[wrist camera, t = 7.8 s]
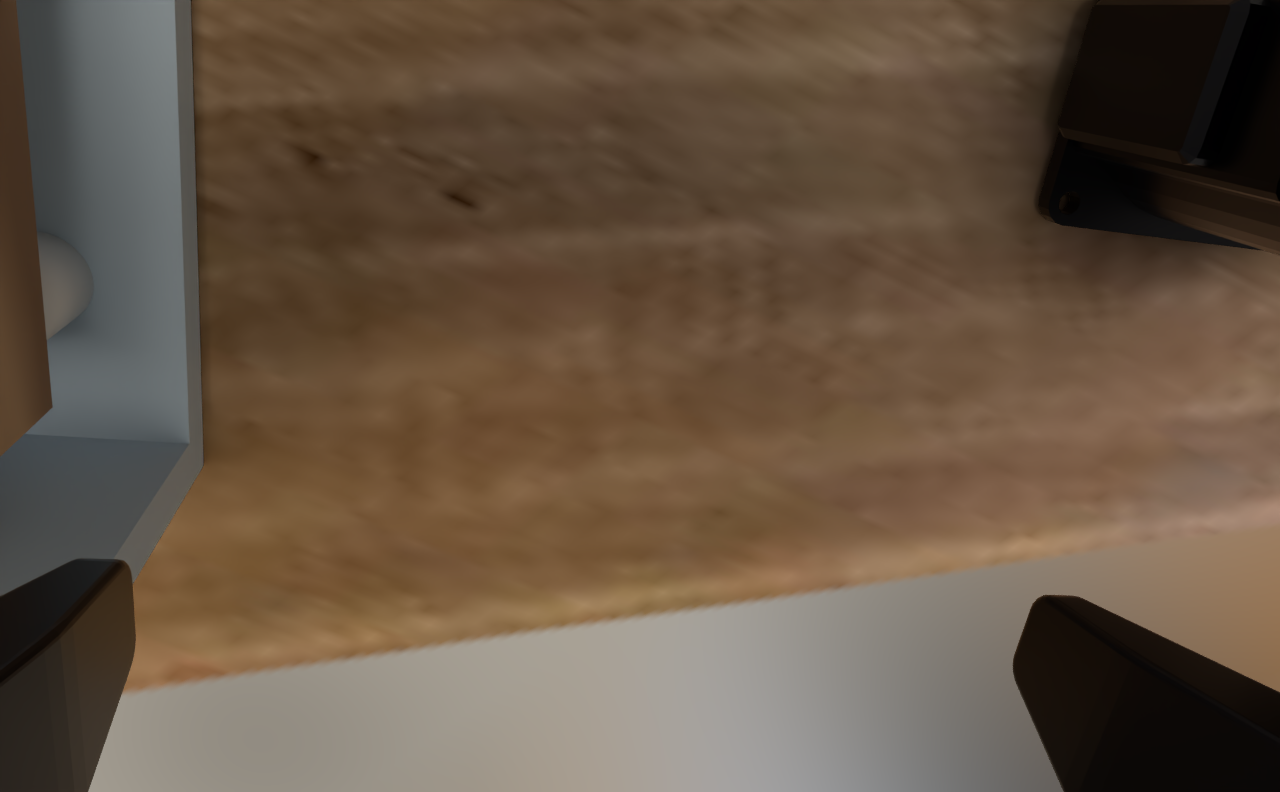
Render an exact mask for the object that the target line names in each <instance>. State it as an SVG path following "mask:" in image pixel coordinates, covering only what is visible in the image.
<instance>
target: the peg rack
mask: <svg viewBox="0 0 1280 792" xmlns="http://www.w3.org/2000/svg"><path fill="white" fill-rule="evenodd" d="M16 5H17V16H18V27H19V39H20V50H21V61H22V72H23V83H24V94H25V105H26V116H27V127H28V139H29V150H30V161H31V172H32V183H33V194H34V205H35V216H36V227H37V238H38V250H39V261H40V272H41V283H42V294H43V305H44V316H45V327H46V338H47V350H48V361H49V372H50V383H51V394H52V405H53V408H51V409H50V410H49V411H48V412H47V413H46V414H45V415H44V416H43V417H42V418H41V419H40V420H39V421H38V422H37V423H36V424H34V425H33V426H32V427H31V428H30V429H29V430H28V431H27V432H26V433H25V434H24V435H23V436H22V437H21V438H20V439H19V440H18V441H16V442H15V443H14V444H13V445H12V446H11V447H10V448H9V449H8V450H7V451H6V452H5V453H4V454H3V455H2V456H1V457H0V596H2V595H4V594H6V593H8V592H10V591H12V590H14V589H15V588H17V587H19V586H21V585H23V584H25V583H27V582H29V581H31V580H33V579H35V578H37V577H39V576H41V575H43V574H45V573H47V572H49V571H51V570H53V569H55V568H57V567H59V566H61V565H63V564H65V563H67V562H69V561H71V560H74V559H77V558H99V559H119V560H124V561H125V562H126V563H127V564H128V565H129V567H130V570H131V573H132V583H134V581H135V580H136V578H137V576H138V575H139V573H140V571H141V570H142V568H143V566H144V565H145V563H146V561H147V560H148V558H149V556H150V555H151V553H152V551H153V549H154V548H155V546H156V544H157V543H158V541H159V539H160V538H161V536H162V534H163V533H164V531H165V529H166V528H167V526H168V524H169V523H170V521H171V519H172V518H173V516H174V514H175V513H176V511H177V509H178V508H179V506H180V504H181V503H182V501H183V499H184V498H185V496H186V494H187V493H188V491H189V489H190V488H191V486H192V484H193V483H194V481H195V479H196V477H197V476H198V474H199V472H200V471H201V469H202V467H203V466H204V460H203V424H202V387H201V351H200V315H199V279H198V242H197V206H196V170H195V134H194V98H193V61H192V25H191V0H16Z"/></svg>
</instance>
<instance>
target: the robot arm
mask: <svg viewBox="0 0 1280 792" xmlns="http://www.w3.org/2000/svg"><path fill="white" fill-rule="evenodd" d="M1058 126H1059V129H1060V130H1059V134H1058V137H1057V140H1056V144H1055V147H1054V150H1053V154H1052V157H1051V160H1050V164H1049V167H1048V170H1047V174H1046V177H1045V181H1044V184H1043V187H1042V191H1041V194H1040V198H1039V209H1040V213H1041V214H1042V216H1043V217H1044V218H1045V219H1047V220H1050V221H1052V222H1055V223H1058V224H1060V225H1064V226H1072V227H1080V228H1088V229H1096V230H1104V231H1112V232H1120V233H1128V234H1136V235H1144V236H1152V237H1160V238H1168V239H1176V240H1184V241H1192V242H1200V243H1208V244H1216V245H1224V246H1232V247H1240V248H1248V249H1256V250H1264V251H1268V252H1271V253H1274V254H1277V255H1280V0H1098V3H1097V4H1096V5H1095V6H1094V7H1093V8H1092V11H1091V14H1090V17H1089V21H1088V24H1087V28H1086V31H1085V34H1084V38H1083V41H1082V44H1081V48H1080V51H1079V54H1078V58H1077V61H1076V65H1075V68H1074V71H1073V75H1072V78H1071V81H1070V85H1069V88H1068V91H1067V95H1066V98H1065V102H1064V105H1063V108H1062V112H1061V115H1060V118H1059V122H1058ZM1067 192H1069V194H1070V201H1069V203H1068V205H1067V206H1066V207H1065V208H1064V209H1062V210H1060V209H1059V201H1060V199H1061V198H1062V196H1063V195H1064V194H1066V193H1067ZM135 641H136V634H135V617H134V600H133V583H132V573H131V570H130V567H129V565H128V564H127V563H126V562H125V561H124V560H119V559H99V558H77V559H74V560H71V561H69V562H67V563H65V564H63V565H61V566H59V567H57V568H55V569H53V570H51V571H49V572H47V573H45V574H43V575H41V576H39V577H37V578H35V579H33V580H31V581H29V582H27V583H25V584H23V585H21V586H19V587H17V588H15V589H14V590H12V591H10V592H8V593H6V594H4V595H2V596H0V792H88V790H89V787H90V785H91V782H92V779H93V776H94V773H95V770H96V767H97V764H98V761H99V758H100V755H101V753H102V749H103V746H104V744H105V741H106V738H107V735H108V732H109V729H110V726H111V723H112V721H113V717H114V715H115V712H116V709H117V706H118V703H119V700H120V697H121V694H122V691H123V689H124V686H125V683H126V680H127V677H128V674H129V671H130V668H131V665H132V661H133V657H134V651H135ZM1013 673H1014V678H1015V681H1016V684H1017V686H1018V689H1019V691H1020V693H1021V696H1022V698H1023V700H1024V702H1025V705H1026V707H1027V709H1028V711H1029V714H1030V716H1031V718H1032V721H1033V723H1034V725H1035V728H1036V730H1037V732H1038V734H1039V736H1040V739H1041V741H1042V744H1043V746H1044V748H1045V750H1046V753H1047V755H1048V757H1049V760H1050V762H1051V764H1052V766H1053V769H1054V771H1055V773H1056V776H1057V778H1058V780H1059V782H1060V785H1061V787H1062V789H1063V791H1064V792H1280V692H1278V691H1276V690H1273V689H1272V688H1270V687H1267V686H1265V685H1263V684H1261V683H1259V682H1257V681H1255V680H1253V679H1250V678H1248V677H1246V676H1244V675H1242V674H1240V673H1238V672H1236V671H1234V670H1232V669H1230V668H1228V667H1225V666H1223V665H1221V664H1219V663H1217V662H1215V661H1213V660H1211V659H1209V658H1206V657H1204V656H1202V655H1200V654H1198V653H1196V652H1194V651H1192V650H1190V649H1187V648H1185V647H1183V646H1181V645H1179V644H1177V643H1175V642H1173V641H1171V640H1169V639H1166V638H1164V637H1162V636H1160V635H1158V634H1156V633H1154V632H1152V631H1150V630H1148V629H1146V628H1143V627H1141V626H1139V625H1137V624H1135V623H1133V622H1131V621H1129V620H1126V619H1124V618H1122V617H1120V616H1118V615H1116V614H1114V613H1112V612H1110V611H1108V610H1106V609H1104V608H1101V607H1099V606H1097V605H1095V604H1093V603H1091V602H1089V601H1087V600H1085V599H1083V598H1080V597H1076V596H1066V595H1043V596H1041V597H1039V598H1038V599H1037V600H1036V601H1035V602H1034V603H1033V605H1032V607H1031V609H1030V612H1029V615H1028V618H1027V621H1026V623H1025V626H1024V629H1023V632H1022V635H1021V637H1020V640H1019V643H1018V646H1017V649H1016V652H1015V655H1014V659H1013Z"/></svg>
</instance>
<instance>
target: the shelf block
mask: <svg viewBox="0 0 1280 792" xmlns="http://www.w3.org/2000/svg"><path fill="white" fill-rule="evenodd" d="M51 408H53V405H52V394H51V383H50V372H49V361H48V350H47V338H46V327H45V316H44V305H43V294H42V283H41V272H40V261H39V250H38V238H37V227H36V216H35V205H34V194H33V183H32V172H31V161H30V150H29V139H28V127H27V116H26V105H25V94H24V83H23V72H22V61H21V50H20V39H19V27H18V16H17V5H16V0H0V457H1V456H2V455H3V454H4V453H5V452H6V451H7V450H8V449H9V448H10V447H11V446H12V445H13V444H14V443H15V442H16V441H18V440H19V439H20V438H21V437H22V436H23V435H24V434H25V433H26V432H27V431H28V430H29V429H30V428H31V427H32V426H33V425H34V424H36V423H37V422H38V421H39V420H40V419H41V418H42V417H43V416H44V415H45V414H46V413H47V412H48V411H49V410H50V409H51Z"/></svg>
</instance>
